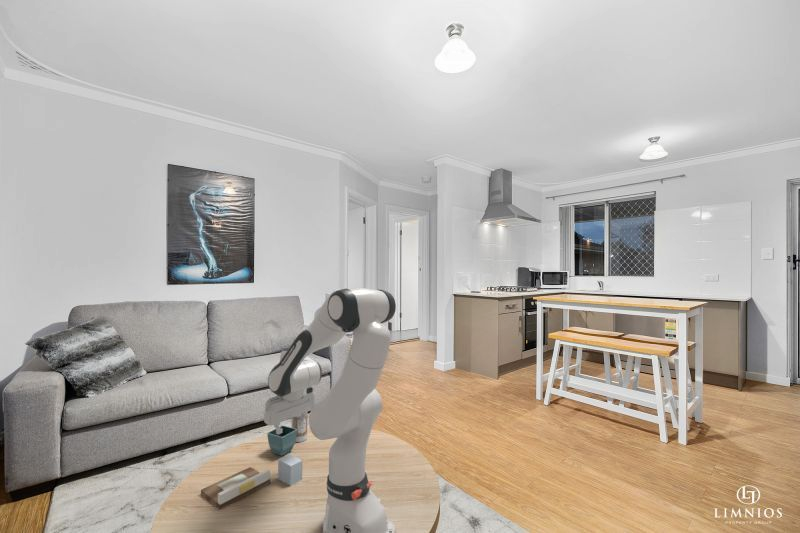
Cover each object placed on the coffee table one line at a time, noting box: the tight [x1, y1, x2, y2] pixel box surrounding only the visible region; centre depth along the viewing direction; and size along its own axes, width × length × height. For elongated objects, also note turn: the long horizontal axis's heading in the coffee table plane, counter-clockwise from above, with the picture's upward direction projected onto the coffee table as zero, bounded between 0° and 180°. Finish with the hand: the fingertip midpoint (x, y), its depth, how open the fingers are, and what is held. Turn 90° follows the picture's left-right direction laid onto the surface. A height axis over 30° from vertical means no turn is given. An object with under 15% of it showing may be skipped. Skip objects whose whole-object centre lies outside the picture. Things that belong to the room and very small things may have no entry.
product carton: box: [277, 454, 303, 487], centre depth 132 cm, size 5×8×7 cm
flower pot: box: [266, 425, 297, 457], centre depth 151 cm, size 9×9×9 cm
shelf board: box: [200, 466, 271, 510], centre depth 126 cm, size 13×18×2 cm
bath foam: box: [291, 412, 309, 443], centre depth 163 cm, size 7×7×20 cm
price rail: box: [218, 468, 271, 505], centre depth 122 cm, size 2×18×3 cm, turn 144°
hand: (290, 428), depth 132 cm, fingers open, 8 cm apart
